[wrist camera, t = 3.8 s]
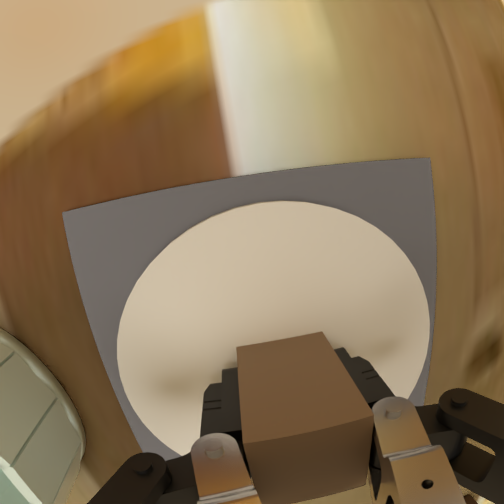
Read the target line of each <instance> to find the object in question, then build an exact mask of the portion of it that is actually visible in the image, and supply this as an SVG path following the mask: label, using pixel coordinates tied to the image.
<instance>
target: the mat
mask: <svg viewBox="0 0 504 504" xmlns="http://www.w3.org/2000/svg"><path fill="white" fill-rule="evenodd" d="M280 200H284V201H300V202H308V203H313V204H318V205H323V206H328V207H332V208H336V209H339V210H341V211H344V212H347V213H350V214H352V215H355V216H357V217H359V218H361V219H363V220H364V221H366V222H368V223H370V224H372V225H373V226H375V227H377V228H378V229H379V230H380V231H382V232H383V233H384V234H386V235H387V236H388V237H389V238H391V239H392V240H393V241H394V242H395V243H396V245H397V246H398V247H399V248H400V249H401V250H402V251H403V252H404V253H405V255H406V256H407V257H408V259H409V261H410V262H411V264H412V265H413V267H414V268H415V270H416V272H417V274H418V276H419V278H420V281H421V283H422V285H423V288H424V292H425V295H426V299H427V303H428V310H429V318H430V333H429V343H428V349H427V355H426V358H425V362H424V365H423V369H422V371H421V374H420V376H419V378H418V381H417V383H416V385H415V387H414V389H413V391H412V392H411V394H410V396H409V398H408V400H410V401H411V402H412V403H413V404H414V406H423V404H424V399H425V393H426V387H427V381H428V374H429V367H430V359H431V351H432V342H433V331H434V319H435V303H436V273H437V248H436V218H435V202H434V190H433V179H432V170H431V161H430V158H412V159H395V160H380V161H367V162H355V163H344V164H334V165H324V166H315V167H306V168H298V169H289V170H282V171H274V172H267V173H259V174H252V175H246V176H239V177H233V178H226V179H220V180H214V181H208V182H202V183H197V184H191V185H185V186H180V187H175V188H169V189H164V190H159V191H154V192H149V193H144V194H140V195H135V196H130V197H126V198H121V199H116V200H112V201H108V202H103V203H99V204H95V205H91V206H87V207H82V208H78V209H74V210H70V211H67V212H63V213H62V215H63V221H64V226H65V231H66V236H67V241H68V245H69V250H70V254H71V259H72V263H73V267H74V271H75V275H76V279H77V283H78V286H79V290H80V294H81V297H82V301H83V304H84V308H85V311H86V314H87V317H88V321H89V324H90V327H91V330H92V333H93V336H94V339H95V342H96V345H97V347H98V350H99V353H100V356H101V358H102V361H103V364H104V366H105V369H106V372H107V374H108V377H109V379H110V382H111V384H112V387H113V389H114V391H115V394H116V396H117V399H118V401H119V403H120V405H121V408H122V410H123V412H124V414H125V416H126V419H127V421H128V423H129V425H130V427H131V429H132V431H133V433H134V435H135V437H136V439H137V441H138V443H139V445H140V447H141V449H142V451H143V453H144V452H151V453H156V454H158V455H160V456H162V457H163V458H164V460H165V461H167V460H170V459H174V458H177V457H181V455H180V454H178V453H177V452H175V451H173V450H172V449H170V448H169V447H167V446H166V445H165V444H164V443H163V442H161V441H160V440H159V439H158V438H157V437H156V436H154V435H153V433H152V432H151V431H150V430H149V429H148V428H147V427H146V426H145V425H144V424H143V422H142V421H141V419H140V418H139V417H138V415H137V414H136V412H135V411H134V409H133V408H132V406H131V404H130V402H129V400H128V398H127V395H126V393H125V391H124V388H123V384H122V381H121V378H120V374H119V368H118V361H117V337H118V331H119V325H120V320H121V316H122V313H123V310H124V307H125V304H126V302H127V299H128V297H129V295H130V294H131V292H132V290H133V288H134V286H135V284H136V282H137V281H138V279H139V278H140V276H141V275H142V274H143V272H144V271H145V270H146V268H147V267H148V266H149V264H150V263H151V262H152V261H153V260H154V259H155V258H156V257H157V256H158V255H159V254H160V253H161V252H162V251H163V250H164V249H165V248H166V247H167V246H168V245H169V244H170V243H171V242H172V241H173V240H174V239H176V238H177V237H179V236H180V235H181V234H183V233H184V232H185V231H187V230H188V229H189V228H191V227H192V226H194V225H196V224H198V223H200V222H202V221H203V220H205V219H207V218H209V217H211V216H213V215H216V214H218V213H221V212H224V211H226V210H229V209H232V208H235V207H239V206H243V205H248V204H252V203H257V202H268V201H280ZM251 477H252V476H251Z"/></svg>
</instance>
